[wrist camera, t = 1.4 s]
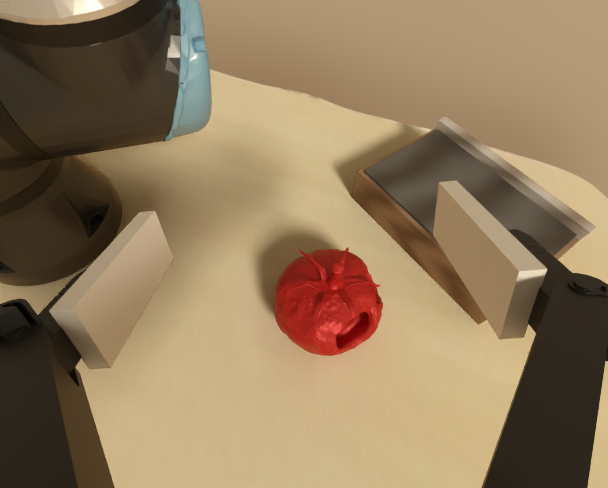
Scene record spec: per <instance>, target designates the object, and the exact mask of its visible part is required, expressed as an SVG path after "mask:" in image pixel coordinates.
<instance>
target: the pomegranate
mask: <svg viewBox="0 0 608 488" xmlns="http://www.w3.org/2000/svg"><path fill="white" fill-rule="evenodd" d="M299 250H300V249H299ZM348 250H349V248H347V249H346V250H345V251H340V250H337V249H325V250H324V249H320V250H316V251H313V252H311V253H310V254H308V255H307V254H305V253H303V252H302V251H301V250H300V252H301V254H303V255H304V256H303V257H300V258H298V259H296V260H295V261H294V262H292V263H291V264H290V265H289V266H288V267H287V268H286V269H285V271H284V272H283V273H282V275H281V276H280V278H279V280H278V282H277V285H276V289H275V299H274V309H275V317H276V321H277V324H278V326H279V327H280V329H281V330H282V332H283V333H285V334H286V335H287V336H288V337H289V338H290V339H291V340H292V341H293V342H294V343H296V344H297V345H298V346H300V347H301V348H303V349H304V350H306V351H308V352H310V353H313V354H318V355H328V356H332V355H337V354H341V353H344V352H346V351H348V350H350V349H353V348H355V347H356V346H358V345H359V344H361V343H362V342H364V341H366V340H367V339H369V338H370V337H371V335H372V334H373V333H374V332H375V331H376V329H377V327H378V324H379V321H380V319H381V315H382V312H381V311H382V309H383V303H382V301H381V298H380V296H379V295H378V291H377V288H376V287H379V286H380V285H376V284H375V283H373V281H372V278H371V275H370V274H369V272H368V269H367V266H366V265H365V264H364V262H363V261H362V260H361V259H360V258H359V257H357V256H356V255H354V254H352V253H350V252H348Z"/></svg>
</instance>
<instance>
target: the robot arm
mask: <svg viewBox="0 0 608 488" xmlns="http://www.w3.org/2000/svg"><path fill="white" fill-rule="evenodd" d="M211 104H212V97H211V80H210V69H209V61H208V54H207V50H206V47H205V36H204V25H203V19H202V13H201V9H200V3H199V0H0V282H1V283H4V284H9V285H16V286H31V285H39V284H44V283H48V282H52V281H55V280H58V279H61V278H63V277H66V276H68V275H70V274H72V273H74V272H76V271H78V270H80V269H81V268H83V267H84V266H86V265H87V264H89V263H90V262H91V261H93V260H94V259H95V258H96V257H97V256H98V255H100V254H101V255H100V256H99V257H98V258H97V259H96V260H95V261H94V262H93V263H92V264H91V265H90V267H89V268H88V269H85V270H84V271H82V272H81V273H80V274H78V275H77V276H75V277H74V278H73V279H72V280H71V281H70V282H69V283H68V284H67V285H66V286H65V288H63V289H62V290H61V291H60V292H59V294H58V296H56V297H55V298H54V299H53V300H52V301H51V302H50V303H49V304H48V305H47V306H46V307H45V308H44V309H43V311H42V312H41V313H40V314H39V315H37V314H36V313H35V311H34V310H33V309H32V307H31V306H30V304H29V303H28V302H27V301H26V300H24V299H16V300H11V301H8V302H5V303H2V304H0V488H114V484H113V481H112V478H111V474H110V471H109V468H108V465H107V461H106V458H105V455H104V451H103V448H102V445H101V442H100V438H99V435H98V432H97V428H96V425H95V422H94V419H93V415H92V412H91V409H90V405H89V402H88V399H87V396H86V392H85V389H84V386H83V382H82V379H81V376H80V373H79V372H78V371H77V369H76V368H75V366H76V365H77V363H78V362H79V361H80V359H81V358H82V359H83V361H84V362H85V363H86V365H87V366H88V368H89V369H97V368H111V366H112V364H113V362H114V361H115V359H116V357H117V355H118V354H119V352H120V350H121V348H122V347H123V345H124V343H125V342H126V340H127V338H128V336H129V335H130V333H131V331H132V329H133V328H134V326H135V324H136V323H137V321H138V319H139V317H140V316H141V314H142V312H143V310H144V309H145V307H146V305H147V304H148V302H149V300H150V298H151V297H152V295H153V293H154V291H155V290H156V288H157V286H158V284H159V283H160V281H161V279H162V278H163V276H164V274H165V272H166V271H167V269H168V267H169V265H170V264H171V262H172V260H173V259H174V258H173V256H172V253H171V251H170V248H169V245H168V243H167V240H166V238H165V235H164V232H163V230H162V227H161V225H160V222H159V219H158V217H157V214H156V212H155V211H146V212H139V213H138V214H137V215H136V216H135V217H134V219H133V220H132V221H131V222H130V223H129V224H128V225H127V226H126V227H125V228H124V229H123V231H122V232H121V233H120V234H119V235H118V236H117V237H116V238H115V239H114V240H113V241H112V239H113V237H114V236H115V234H116V232H117V230H118V227H119V224H120V221H121V214H122V208H121V203H120V200H119V197H118V195H117V194H116V192H115V191H114V189H113V188H112V186H111V185H110V183H109V182H108V181H107V179H106V178H105V177H104V176H103V175H102V174H101V173H99V172H98V171H96V170H95V169H94V168H92V167H91V166H89V165H88V164H86V163H85V162H83V161H82V160H80V159H79V158H78V157H76V156H75V155H79V154H85V153H91V152H98V151H104V150H110V149H116V148H122V147H129V146H135V145H141V144H147V143H153V142H160V141H169V140H171V139H172V138H174V137H178V136H182V135H186V134H190V133H194V132H198V131H200V130H201V129H203V128H204V127H205V126H206V125H207V123H208V121H209V119H210V115H211ZM433 236H434V237H435V239H436V240H437V242H438V244H439V245H440V247H441V248H442V250H443V251H444V253H445V255H446V256H447V258H448V259H449V261H450V262H451V264H452V265H453V267H454V269H455V270H456V272H457V273H458V275H459V276H460V278H461V280H462V281H463V283H464V284H465V286H466V287H467V289H468V291H469V292H470V294H471V295H472V297H473V298H474V300H475V302H476V303H477V305H478V306H479V308H480V309H481V311H482V313H483V314H484V316H485V317H486V319H487V320H488V322H489V324H490V325H491V327H492V328H493V330H494V331H495V333H496V335H497V336H498V338H499V339H509V338H523V337H524V335H525V333H526V330H527V327H528V324H529V325H530V326H531V327H532V329H533V330H534V331H535V333H536V336H535V338H534V341H533V344H532V346H531V349H530V352H529V354H528V358H527V361H526V364H525V366H524V369H523V372H522V375H521V378H520V381H519V383H518V386H517V389H516V392H515V395H514V398H513V400H512V403H511V406H510V409H509V412H508V414H507V417H506V420H505V423H504V426H503V429H502V431H501V434H500V437H499V440H498V443H497V446H496V448H495V451H494V454H493V457H492V460H491V463H490V465H489V468H488V471H487V474H486V477H485V479H484V482H483V485H482V488H587V486H588V479H589V472H590V465H591V458H592V451H593V444H594V437H595V430H596V423H597V416H598V409H599V402H600V395H601V388H602V381H603V374H604V367H605V361H608V284H606V283H604V282H603V281H601V280H599V279H597V278H594V277H591V276H589V275H584V274H579V273H572V272H571V271H569V270H568V269H567V268H566V267H565V266H564V265H563V264H562V263H561V262H559V261H558V260H557V259H556V258H555V257H554V256H553V255H552V254H551V253H549V252H547V250H546V249H545V248H544V247H543V246H542V245H540V244H539V243H538V242H537V241H536V240H535V239H534V238H533V237H532V236H530V235H528V234H526V233H524V232H522V231H520V230H518V229H512V230H507V229H506V228H505V227H504V226H503V225H502V224H501V223H500V222H499V221H498V220H497V219H495V218H494V217H493V216H492V215H491V214H490V213H489V212H488V211H487V210H486V209H485V208H484V207H483V206H482V205H481V204H480V203H479V202H478V201H477V200H476V199H475V198H474V197H473V196H472V195H471V194H470V193H469V192H468V191H467V190H466V189H465V188H464V187H463V186H462V185H460V184H459V183H458V182H457V181H456V180H455V181H445V182H439V185H438V194H437V203H436V212H435V221H434V230H433ZM111 241H112V243H111V244H110V245H109V243H110V242H111ZM108 245H109V246H108ZM107 246H108V247H107ZM106 247H107V248H106ZM105 248H106V249H105ZM104 249H105V250H104ZM103 250H104V251H103Z"/></svg>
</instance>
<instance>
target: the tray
mask: <svg viewBox="0 0 608 488" xmlns="http://www.w3.org/2000/svg"><path fill="white" fill-rule="evenodd" d="M455 180H456V181H457V182H458V183H459V184H460V185H462V186H463V187H464V188H465V189H466V190H467V191H468V192H469V193H470V194H471V195H472V196H473V197H474V198H475V199H476V200H477V201H478V202H479V203H480V204H481V205H482V206H483V207H484V208H485V209H486V210H487V211H488V212H489V213H490V214H491V215H492V216H493V217H494V218H495V219H497V220H498V221H499V222H500V223H501V224H502V225H503V226H504V227H505V228H506V229H507V230H512V229H518V230H520V231H522V232H524V233H526V234H528V235H530V236H532V237H533V238H534V239H535V240H536V241H537V242H538V243H539V244H540V245H542V246H543V247H544V248H545V249H546V250H547V252H549V253H551V254H552V255H553V256H554V257H555V258H556V259H557V260H558V259H559V258H560V257H561V256H562V255H563V254H565V253H566V252H567V251H568V250H569V249H570V248H571V247H572V246H573V245H575V244H576V243H577V242H578V241H579V240H580V239H582V238H583V237H584V236H586V235H587V234H589V233H590V232H591V231H592V230H593V229H595V228H596V226H595V225H593V224H592V223H590V222H589V221H588V220H586V219H585V218H584V217H582V216H581V215H579V214H578V213H577V212H575V211H574V210H573V209H571V208H570V207H569V206H567V205H566V204H564V203H563V202H562V201H560V200H559V199H558V198H556V197H555V196H553V195H552V194H551V193H549V192H548V191H547V190H545V189H544V188H543V187H541V186H540V185H538V184H537V183H536V182H534V181H533V180H532V179H530V178H529V177H527V176H526V175H525V174H523V173H522V172H521V171H519V170H518V169H516V168H515V167H514V166H512V165H511V164H510V163H508V162H507V161H506V160H504V159H503V158H501V157H500V156H499V155H497V154H496V153H495V152H493V151H492V150H490V149H489V148H488V147H486V146H485V145H484V144H482V143H481V142H480V141H478V140H477V139H475V138H474V137H472V136H471V135H470V134H468V133H467V132H466V131H464V130H463V129H462V128H460V127H459V126H458V125H456V124H455V123H453V122H452V121H451V120H449V119H448V118H447V117H443V118H441V119H439V120H438V122H437V124H436V127H435V129H434V130H432V131H430V132H428V133H426V134H425V135H423V136H421V137H419V138H417V139H416V140H414V141H412V142H410V143H408V144H406V145H405V146H403V147H401V148H399V149H397V150H395V151H394V152H392V153H390V154H388V155H386V156H384V157H383V158H381V159H379V160H377V161H375V162H374V163H372V164H370V165H368V166H366V167H364V168H363V169H361V170H359V171H358V172H357V176H356V180H355V184H354V188H353V192H352V196H351V197H352V198H353V199H354V200H355V201H356V202H357V203H358V204H359V205H360V206H361V207H362V208H363V209H364V210H365V211H366V212H367V213H368V214H369V215H370V216H371V217H372V218H373V219H374V220H375V221H376V222H377V223H378V224H379V225H380V226H381V227H382V228H383V229H384V230H385V231H386V232H387V233H388V234H389V235H390V236H391V237H392V238H393V239H394V240H395V241H396V242H397V243H398V244H399V245H400V246H401V247H402V248H403V249H404V250H405V251H406V252H407V253H408V254H409V255H410V256H411V257H412V258H413V259H414V260H415V261H416V262H417V263H418V264H419V265H420V266H421V267H422V268H423V269H424V270H425V271H426V272H427V273H428V274H429V275H430V276H431V277H432V278H433V279H434V280H435V281H436V282H437V283H438V284H439V285H440V286H441V287H442V288H443V289H444V290H445V291H446V292H447V293H448V294H449V295H450V296H451V297H452V298H453V299H454V300H455V301H456V302H457V303H458V304H459V305H460V306H461V307H462V308H463V309H464V310H465V311H466V312H467V313H468V314H469V315H470V316H471V317H472V318H473V319H474V320H475V321H476V322H477V323H478V324H480V323H482V322H484V321H485V320H487V319H486V317H485V316H484V314H483V313H482V311H481V309H480V308H479V306H478V305H477V303H476V302H475V300H474V298H473V297H472V295H471V294H470V292H469V291H468V289H467V287H466V286H465V284H464V283H463V281H462V280H461V278H460V276H459V275H458V273H457V272H456V270H455V269H454V267H453V265H452V264H451V262H450V261H449V259H448V258H447V256H446V255H445V253H444V251H443V250H442V248H441V247H440V245H439V244H438V242H437V240H436V239H435V237H434V236H433V230H434V221H435V212H436V203H437V194H438V185H439V182H445V181H455Z"/></svg>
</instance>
